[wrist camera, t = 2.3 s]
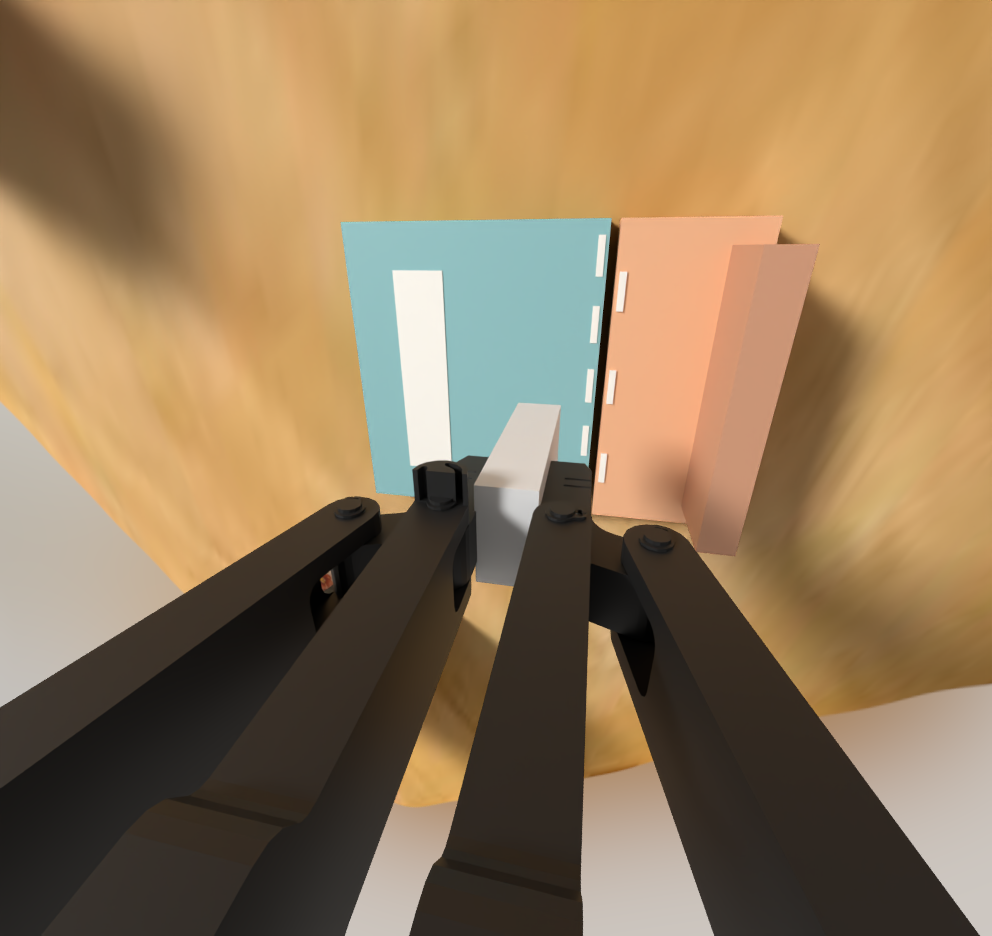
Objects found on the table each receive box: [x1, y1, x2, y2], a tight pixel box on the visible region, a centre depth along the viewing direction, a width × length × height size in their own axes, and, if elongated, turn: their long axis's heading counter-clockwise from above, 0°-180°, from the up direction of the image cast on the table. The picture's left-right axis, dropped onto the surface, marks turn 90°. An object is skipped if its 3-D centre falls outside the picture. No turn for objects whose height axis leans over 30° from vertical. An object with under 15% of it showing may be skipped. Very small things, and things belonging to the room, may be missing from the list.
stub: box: [592, 216, 820, 556], centre depth 20 cm, size 14×6×6 cm, turn 0°
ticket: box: [341, 218, 612, 496], centre depth 24 cm, size 14×12×2 cm
